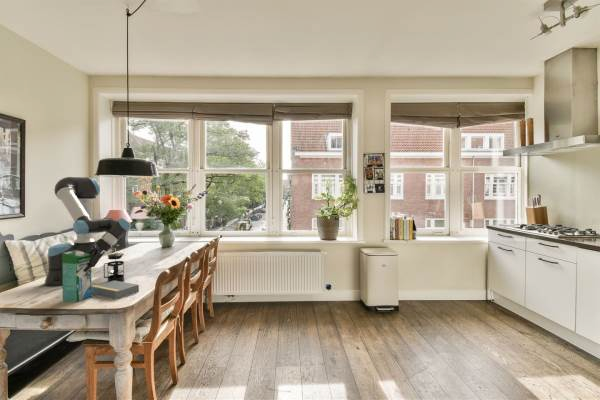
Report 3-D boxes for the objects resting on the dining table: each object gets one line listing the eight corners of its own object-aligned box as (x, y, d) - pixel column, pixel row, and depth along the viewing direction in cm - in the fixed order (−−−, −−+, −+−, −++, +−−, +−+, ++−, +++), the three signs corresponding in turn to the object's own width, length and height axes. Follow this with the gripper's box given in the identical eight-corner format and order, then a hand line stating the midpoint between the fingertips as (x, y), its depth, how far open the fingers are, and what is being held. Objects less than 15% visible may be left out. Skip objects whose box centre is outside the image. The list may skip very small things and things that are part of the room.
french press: (126, 278, 212) (126, 243, 212) (124, 282, 204) (124, 245, 203) (105, 280, 208) (104, 244, 207) (102, 284, 199) (102, 246, 198)
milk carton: (77, 302, 169) (76, 253, 168) (62, 300, 170) (61, 252, 170) (91, 296, 177) (91, 250, 177) (77, 295, 179) (76, 249, 178)
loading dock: (91, 294, 182) (90, 286, 182) (114, 287, 194) (114, 279, 194) (116, 299, 174) (116, 291, 174) (138, 291, 186) (138, 284, 186)
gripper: (119, 249, 176) (87, 282, 166) (104, 243, 193) (74, 273, 183) (108, 240, 172) (75, 274, 162) (94, 235, 189) (62, 265, 179)
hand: (74, 274), depth 172 cm, fingers open, 13 cm apart
